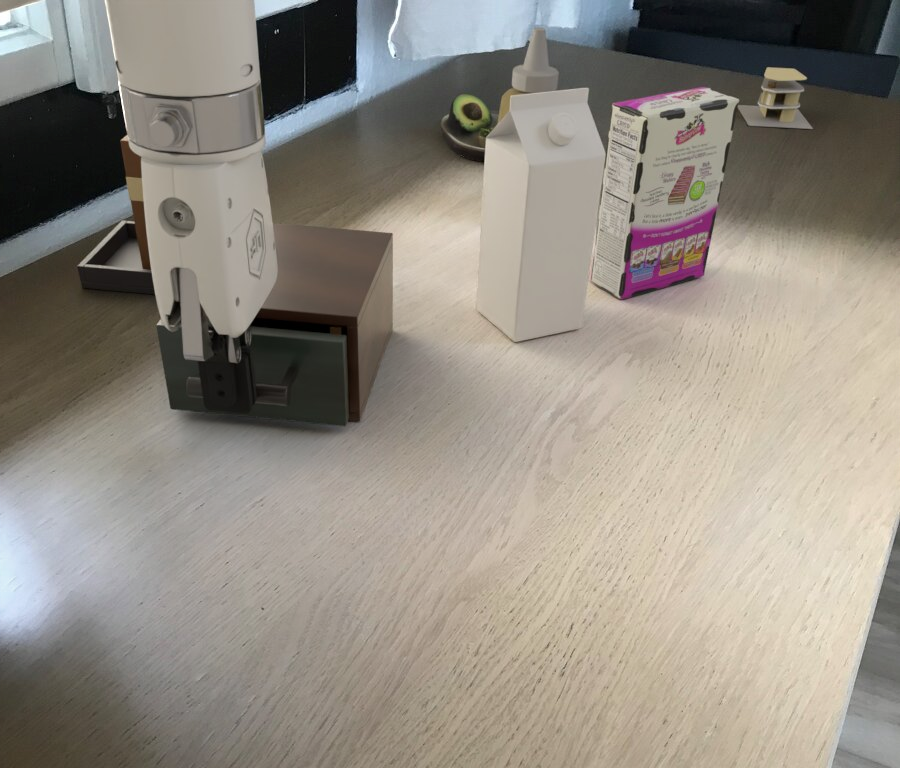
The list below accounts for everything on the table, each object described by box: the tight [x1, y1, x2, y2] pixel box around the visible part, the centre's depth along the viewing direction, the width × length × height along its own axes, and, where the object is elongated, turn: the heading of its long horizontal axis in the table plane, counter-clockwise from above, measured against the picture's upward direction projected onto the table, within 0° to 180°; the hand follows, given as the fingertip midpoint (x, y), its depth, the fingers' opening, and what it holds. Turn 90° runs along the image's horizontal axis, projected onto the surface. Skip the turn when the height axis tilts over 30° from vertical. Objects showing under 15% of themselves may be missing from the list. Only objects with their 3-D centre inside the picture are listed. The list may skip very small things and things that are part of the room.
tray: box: [76, 220, 155, 295], centre depth 93 cm, size 14×11×2 cm
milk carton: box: [475, 87, 606, 343], centre depth 83 cm, size 7×7×19 cm
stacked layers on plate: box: [737, 66, 814, 130], centre depth 138 cm, size 10×9×6 cm
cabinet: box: [158, 222, 394, 423], centre depth 78 cm, size 16×15×9 cm
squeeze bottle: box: [498, 27, 560, 123], centre depth 102 cm, size 8×8×18 cm
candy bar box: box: [590, 86, 740, 300], centre depth 91 cm, size 11×5×16 cm, turn 123°
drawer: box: [156, 318, 349, 427], centre depth 75 cm, size 19×13×7 cm
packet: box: [119, 134, 151, 270], centre depth 90 cm, size 4×7×12 cm, turn 173°
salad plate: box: [440, 93, 500, 163], centre depth 125 cm, size 19×18×5 cm
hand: (231, 405), depth 66 cm, fingers closed
